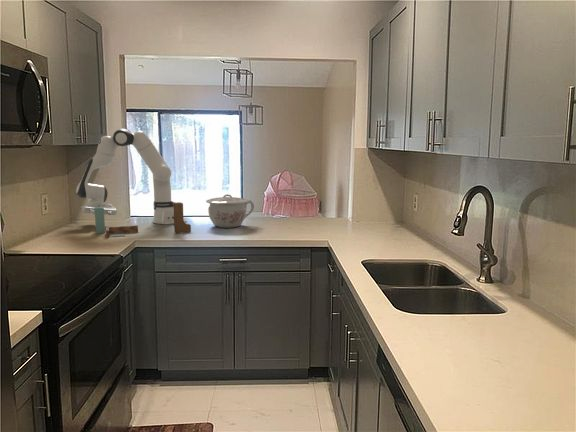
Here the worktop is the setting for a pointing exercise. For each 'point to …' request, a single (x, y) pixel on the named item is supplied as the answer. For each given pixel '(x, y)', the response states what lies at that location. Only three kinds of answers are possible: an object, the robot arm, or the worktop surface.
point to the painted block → (99, 220)
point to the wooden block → (180, 219)
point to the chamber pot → (228, 211)
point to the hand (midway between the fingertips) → (101, 213)
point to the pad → (117, 235)
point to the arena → (121, 230)
